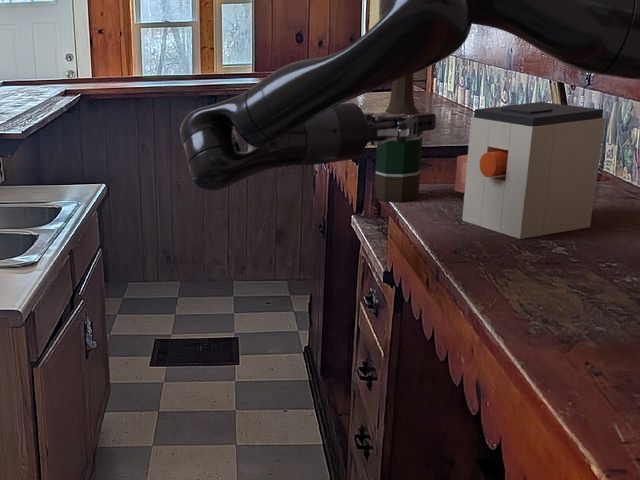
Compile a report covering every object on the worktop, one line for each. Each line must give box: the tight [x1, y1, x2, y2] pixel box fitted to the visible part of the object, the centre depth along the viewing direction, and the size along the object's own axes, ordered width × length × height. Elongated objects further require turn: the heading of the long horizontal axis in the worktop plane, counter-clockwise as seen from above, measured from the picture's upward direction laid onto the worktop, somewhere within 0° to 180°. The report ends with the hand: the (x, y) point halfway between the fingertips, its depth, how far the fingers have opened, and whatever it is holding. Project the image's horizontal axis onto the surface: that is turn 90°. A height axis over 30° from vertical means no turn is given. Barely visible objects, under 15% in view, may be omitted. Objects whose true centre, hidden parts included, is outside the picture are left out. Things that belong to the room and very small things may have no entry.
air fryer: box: [461, 101, 606, 240], centre depth 130 cm, size 13×13×18 cm
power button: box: [480, 150, 508, 177], centre depth 128 cm, size 4×4×4 cm
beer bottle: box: [374, 74, 424, 203], centre depth 149 cm, size 8×8×24 cm
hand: (432, 121), depth 121 cm, fingers closed
